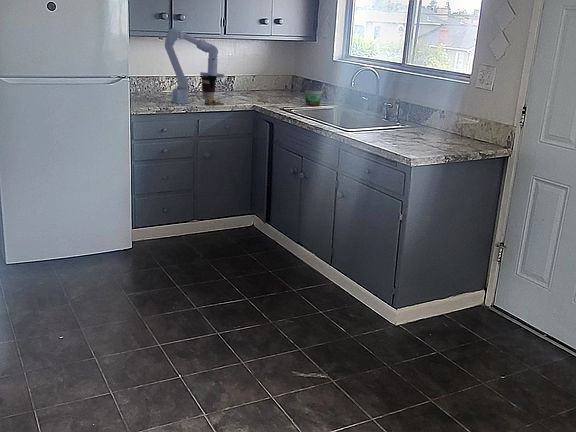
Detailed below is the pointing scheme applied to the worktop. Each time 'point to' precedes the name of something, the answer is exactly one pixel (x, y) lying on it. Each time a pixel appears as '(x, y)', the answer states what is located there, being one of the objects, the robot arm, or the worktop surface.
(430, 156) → the worktop surface
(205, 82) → the coffee cup
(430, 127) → the worktop surface
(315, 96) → the food container
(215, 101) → the bar
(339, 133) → the worktop surface
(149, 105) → the worktop surface
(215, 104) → the plate
